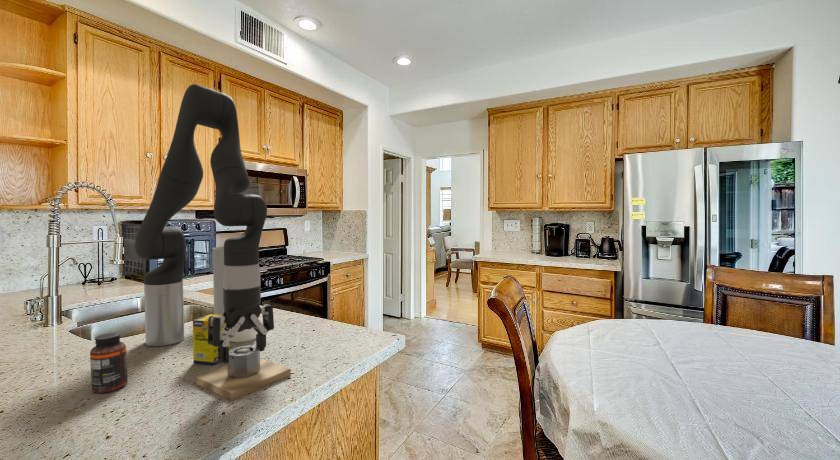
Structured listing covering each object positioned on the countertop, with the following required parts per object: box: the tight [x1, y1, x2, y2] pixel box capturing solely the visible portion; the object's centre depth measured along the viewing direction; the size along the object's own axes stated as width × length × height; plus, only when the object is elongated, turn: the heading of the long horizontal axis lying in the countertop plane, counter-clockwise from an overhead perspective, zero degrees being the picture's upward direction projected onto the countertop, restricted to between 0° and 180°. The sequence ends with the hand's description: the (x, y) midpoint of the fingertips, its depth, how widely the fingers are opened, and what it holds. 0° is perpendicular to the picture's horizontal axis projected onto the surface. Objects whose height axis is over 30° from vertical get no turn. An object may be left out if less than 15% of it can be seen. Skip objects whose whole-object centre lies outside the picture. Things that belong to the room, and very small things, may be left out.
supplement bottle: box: [89, 332, 129, 394], centre depth 80 cm, size 6×6×11 cm
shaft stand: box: [195, 348, 292, 401], centre depth 84 cm, size 14×14×6 cm
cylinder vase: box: [212, 246, 224, 315], centre depth 133 cm, size 12×12×25 cm
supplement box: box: [192, 313, 231, 366], centre depth 95 cm, size 6×6×11 cm
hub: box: [226, 344, 261, 379], centre depth 84 cm, size 6×6×5 cm
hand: (243, 356), depth 84 cm, fingers open, 8 cm apart
